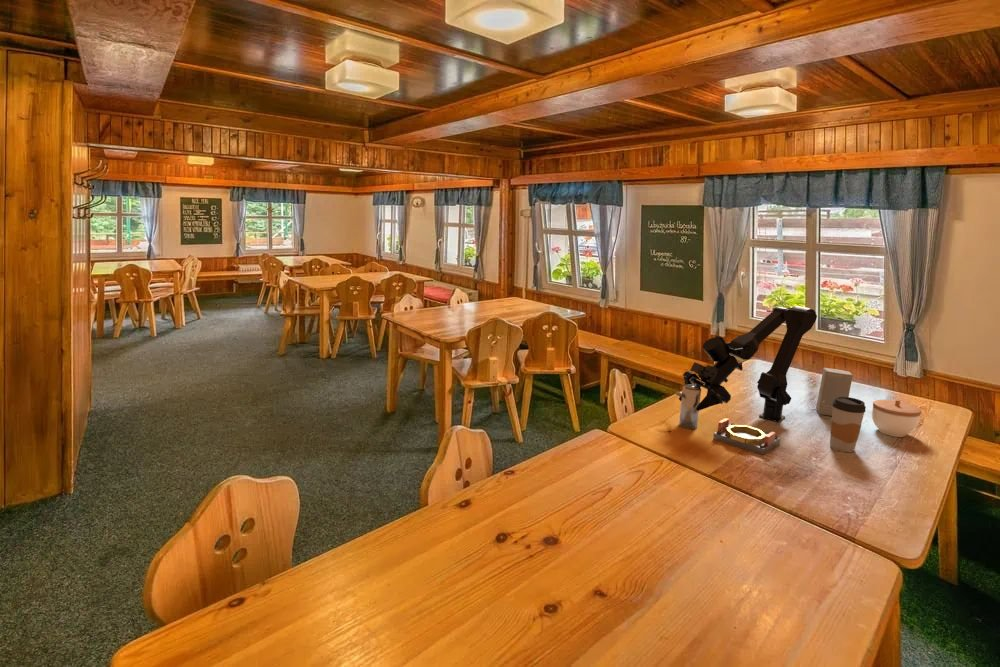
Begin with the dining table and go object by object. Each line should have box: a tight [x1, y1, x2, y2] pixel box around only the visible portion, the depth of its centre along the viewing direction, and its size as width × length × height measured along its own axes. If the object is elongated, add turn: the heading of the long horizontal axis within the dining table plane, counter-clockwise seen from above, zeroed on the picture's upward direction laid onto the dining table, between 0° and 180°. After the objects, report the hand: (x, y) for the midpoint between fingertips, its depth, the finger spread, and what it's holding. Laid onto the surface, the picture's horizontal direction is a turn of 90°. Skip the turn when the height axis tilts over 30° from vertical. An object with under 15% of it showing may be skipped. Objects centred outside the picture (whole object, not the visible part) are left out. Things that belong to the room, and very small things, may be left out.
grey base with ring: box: [712, 417, 781, 456], centre depth 163 cm, size 12×15×5 cm
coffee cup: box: [829, 397, 867, 453], centre depth 159 cm, size 8×8×15 cm
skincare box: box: [815, 367, 854, 417], centre depth 188 cm, size 8×7×16 cm
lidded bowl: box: [871, 399, 922, 438], centre depth 173 cm, size 13×13×11 cm
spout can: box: [675, 384, 702, 430], centre depth 174 cm, size 8×6×14 cm, turn 106°
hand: (688, 404), depth 174 cm, fingers open, 9 cm apart
